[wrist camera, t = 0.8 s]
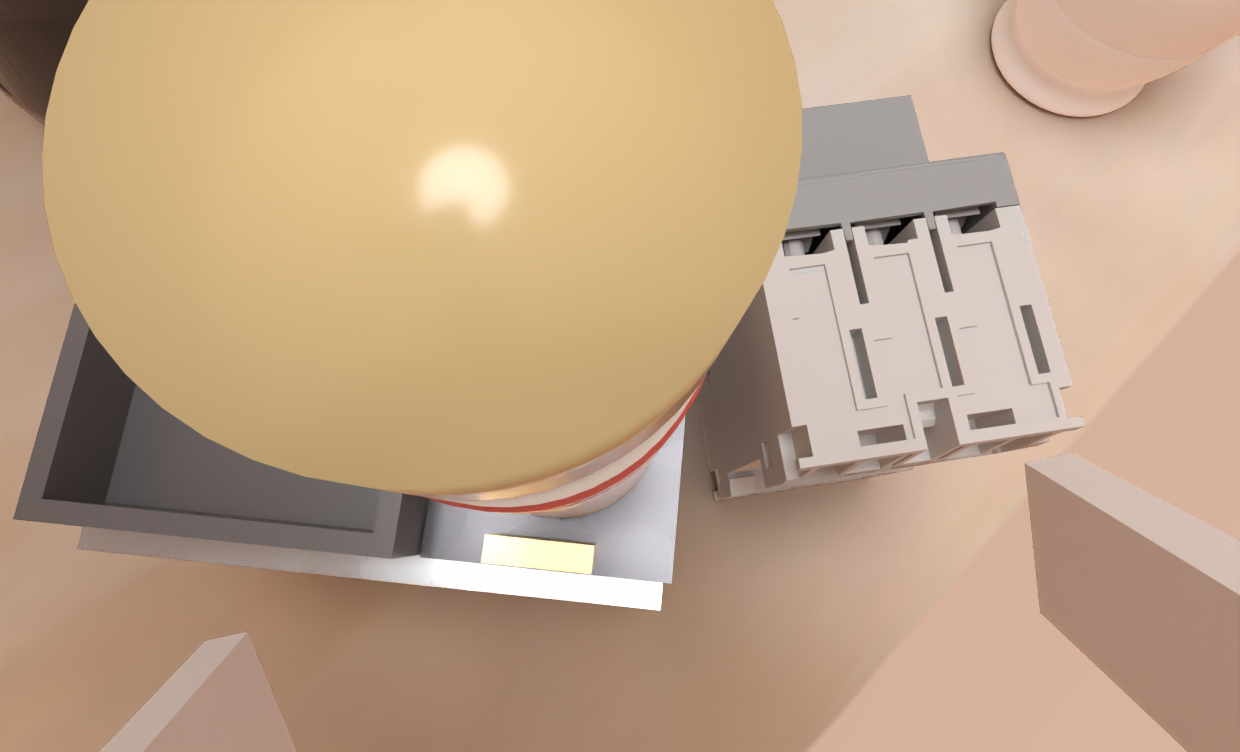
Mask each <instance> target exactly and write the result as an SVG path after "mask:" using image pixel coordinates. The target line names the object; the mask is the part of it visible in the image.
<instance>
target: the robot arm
mask: <svg viewBox="0 0 1240 752" xmlns="http://www.w3.org/2000/svg"><path fill="white" fill-rule="evenodd" d="M88 1H89V0H0V90H1V91H2V92H3V93H4V94H5V95H6V96H7V97H8V98H9V99H11V100H12V101H13V102H14V103H16V104H17V105H18V106H20V107H21V108H22V109H24V110H25V111H27V112H28V113H29V114H31V115H32V116H34V117H35V118H36V119H38V120H39V121H41V122H42V123H43V124H45V118H46V112H47V108H48V104H49V99H50V95H51V91H52V87H53V83H54V79H55V74H56V71H57V68H58V65H59V63H60V60H61V58H62V55H63V53H64V50H65V48H66V45H67V43H68V40H69V37H70V35H71V32H72V30H73V28H74V26H75V24H76V22H77V21H78V19H79V17H80V15H81V13H82V12H83V10H84V8H85V6H86V4H87V3H88ZM1025 472H1026V481H1027V491H1028V501H1029V509H1030V510H1029V511H1030V520H1031V530H1032V539H1033V548H1034V559H1035V568H1036V578H1037V587H1038V598H1039V607H1040V613H1041V614H1042V615H1043V616H1044V617H1045V618H1047V619H1048V620H1049V621H1050V622H1051V623H1052V624H1053V625H1054V626H1055V627H1056V628H1057V629H1058V630H1059V631H1060V632H1061V633H1062V634H1063V635H1065V636H1066V637H1067V638H1068V639H1069V640H1070V641H1071V642H1072V643H1073V644H1074V645H1075V646H1076V647H1077V648H1079V650H1080V651H1081V652H1083V653H1084V654H1085V655H1086V656H1087V657H1088V658H1089V659H1090V660H1091V661H1092V662H1093V663H1094V664H1095V665H1096V666H1097V667H1098V668H1100V669H1101V670H1102V671H1103V672H1104V673H1105V674H1106V675H1107V676H1108V677H1109V678H1110V679H1111V680H1112V681H1113V682H1114V683H1115V684H1116V685H1118V686H1119V687H1120V688H1121V689H1122V690H1123V691H1124V692H1125V693H1126V694H1127V695H1128V696H1129V697H1130V698H1131V699H1132V700H1133V701H1134V702H1136V703H1137V704H1138V705H1139V706H1140V707H1141V708H1142V709H1143V710H1144V711H1145V712H1146V713H1147V714H1148V715H1149V716H1150V717H1152V718H1153V719H1154V720H1155V721H1156V722H1157V723H1158V724H1159V725H1160V726H1161V727H1162V728H1163V729H1164V730H1165V731H1166V732H1167V733H1168V734H1170V735H1171V736H1172V737H1173V738H1174V739H1175V740H1176V741H1177V742H1178V743H1179V744H1180V745H1181V746H1182V747H1183V748H1184V749H1186V751H1187V752H1240V540H1238V539H1236V538H1234V537H1232V536H1230V535H1228V534H1226V533H1224V532H1223V531H1221V530H1219V529H1217V528H1215V527H1213V526H1211V525H1209V524H1207V523H1206V522H1204V521H1202V520H1200V519H1198V518H1196V517H1194V516H1192V515H1190V514H1188V513H1186V512H1184V511H1183V510H1181V509H1179V508H1177V507H1175V506H1173V505H1171V504H1169V503H1167V502H1165V501H1164V500H1162V499H1160V498H1158V497H1156V496H1154V495H1152V494H1150V493H1149V492H1147V491H1144V490H1143V489H1141V488H1139V487H1137V486H1135V485H1133V484H1131V483H1130V482H1128V481H1126V480H1124V479H1122V478H1120V477H1118V476H1116V475H1114V474H1112V473H1111V472H1108V471H1107V470H1105V469H1103V468H1101V467H1099V466H1097V465H1095V464H1093V463H1092V462H1090V461H1088V460H1086V459H1084V458H1082V457H1080V456H1078V455H1076V454H1074V453H1073V452H1072V453H1068V454H1063V455H1059V456H1054V457H1049V458H1045V459H1040V460H1036V461H1031V462H1026V463H1025ZM99 752H297V751H296V749H295V746H294V744H293V741H292V739H291V736H290V734H289V731H288V729H287V727H286V724H285V722H284V719H283V717H282V714H281V712H280V709H279V707H278V704H277V702H276V699H275V697H274V695H273V692H272V690H271V687H270V685H269V682H268V680H267V677H266V675H265V672H264V670H263V667H262V665H261V662H260V660H259V658H258V655H257V653H256V650H255V648H254V645H253V643H252V640H251V638H250V635H249V633H248V632H243V633H239V634H234V635H230V636H225V637H220V638H216V639H211V640H206V641H204V642H203V644H202V645H201V646H200V647H199V648H198V649H197V650H196V651H195V652H194V653H193V654H192V655H191V656H190V657H189V658H188V659H187V660H186V661H185V662H184V663H183V664H182V665H181V667H180V668H179V669H178V670H177V671H176V672H175V673H174V674H173V675H172V676H171V677H170V678H169V679H168V680H167V681H166V682H165V683H164V684H163V685H162V686H161V687H160V689H159V690H158V691H157V692H156V693H155V694H154V695H153V696H152V697H151V698H150V699H149V700H148V701H147V702H146V703H145V704H144V705H143V706H142V707H141V708H140V709H139V711H138V712H137V713H136V714H135V715H134V716H133V717H132V718H131V719H130V720H129V721H128V722H127V723H126V724H125V725H124V726H123V727H122V728H121V729H120V730H119V731H118V732H117V734H116V735H115V736H114V737H113V738H112V739H111V740H110V741H109V742H108V743H107V744H106V745H105V746H104V747H103V748H102V749H101V750H100V751H99Z"/></svg>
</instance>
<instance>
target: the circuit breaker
mask: <svg viewBox="0 0 1240 752" xmlns="http://www.w3.org/2000/svg"><path fill="white" fill-rule="evenodd" d="M1019 204H1020V202H1019V198H1018V195H1017V192H1016V188H1015V185H1014V181H1013V178H1012V175H1011V171H1010V168H1009V164H1008V161H1007V158H1006V154H1004V153H994V154H986V155H979V156H971V157H963V158H956V159H948V160H940V161H933V162H929V161H928V157H927V153H926V150H925V146H924V142H923V139H922V135H921V131H920V128H919V124H918V120H917V117H916V113H915V109H914V106H913V102H912V98H911V95H908V96H900V97H892V98H885V99H877V100H869V101H861V102H853V103H845V104H837V105H829V106H821V107H814V108H806V109H802V154H801V162H800V170H799V178H798V186H797V192H796V196H795V199H794V203H793V207H792V210H791V214H790V218H789V221H788V225H787V229H786V232H785V236H784V238H783V240H782V243H781V245H780V247H779V249H778V252H777V254H776V256H775V259H774V261H773V263H772V266H771V268H770V270H769V272H768V275H767V277H766V279H765V281H764V282H763V284H762V286H761V287H760V289H759V291H758V292H757V294H756V295H755V297H754V299H753V300H752V302H751V304H750V305H749V307H748V308H747V310H746V312H745V313H744V315H743V317H742V318H741V320H740V321H739V323H738V325H737V326H736V328H735V329H734V331H733V333H732V334H731V336H730V337H729V339H728V340H727V342H726V344H725V345H724V347H723V348H722V350H721V352H720V353H719V355H718V356H717V358H716V359H715V361H714V363H713V364H712V366H711V367H710V369H709V371H708V372H707V374H706V377H705V379H704V381H703V383H702V386H701V388H700V390H699V392H698V395H697V397H696V398H697V404H698V410H699V415H700V421H701V427H702V433H703V438H704V444H705V450H706V456H707V461H708V467H709V472H714V471H715V476H716V482H717V488H718V491H713V496H714V501H716V500H723V499H730V498H736V497H743V496H750V495H756V494H763V493H769V492H776V491H783V490H789V489H796V488H803V487H809V486H816V485H823V484H829V483H836V482H842V481H849V480H856V479H862V478H869V477H875V476H879V475H885V474H891V473H896V472H901V471H906V470H912V469H914V467H913V466H919V465H925V464H931V463H936V462H942V461H949V460H956V459H962V458H969V457H976V456H982V455H989V454H996V453H1001V452H1007V451H1012V450H1017V449H1022V448H1028V447H1033V446H1038V445H1041V444H1043V443H1046V442H1048V441H1050V440H1049V437H1051V436H1053V435H1056V434H1058V433H1060V432H1064V431H1071V430H1076V429H1079V428H1081V427H1084V426H1085V424H1084V421H1083V417H1082V416H1081V417H1075V418H1068V417H1067V413H1066V410H1065V406H1064V403H1063V399H1062V396H1061V393H1060V390H1061V389H1064V388H1067V387H1071V386H1073V383H1072V380H1071V376H1070V373H1069V369H1068V366H1067V363H1066V359H1065V356H1064V352H1063V349H1062V346H1061V342H1060V339H1059V335H1058V332H1057V328H1056V325H1055V322H1054V318H1053V315H1052V311H1051V308H1050V304H1049V301H1048V298H1047V294H1046V291H1045V287H1044V284H1043V281H1042V277H1041V274H1040V270H1039V267H1038V263H1037V260H1036V257H1035V253H1034V250H1033V246H1032V243H1031V240H1030V236H1029V233H1028V229H1027V226H1026V222H1025V219H1024V216H1023V212H1022V209H1021V205H1019Z"/></svg>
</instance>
